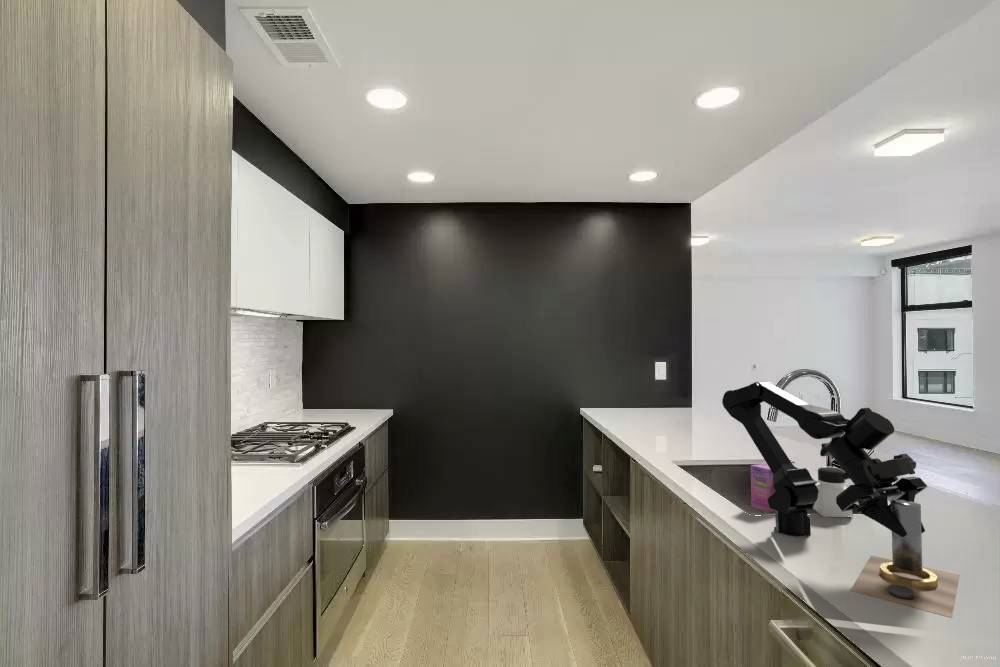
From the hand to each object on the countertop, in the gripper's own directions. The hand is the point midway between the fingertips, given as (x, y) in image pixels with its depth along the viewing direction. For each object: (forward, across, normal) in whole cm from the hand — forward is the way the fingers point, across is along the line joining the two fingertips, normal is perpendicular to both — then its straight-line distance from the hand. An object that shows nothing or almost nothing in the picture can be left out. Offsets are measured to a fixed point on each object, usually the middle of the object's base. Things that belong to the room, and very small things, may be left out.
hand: (913, 534), depth 98 cm
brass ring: (+5, 0, +7) cm, 9 cm away
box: (-25, +13, +39) cm, 48 cm away
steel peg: (+4, 0, +6) cm, 7 cm away
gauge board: (+7, -2, +7) cm, 10 cm away
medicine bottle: (-18, +23, +32) cm, 43 cm away
